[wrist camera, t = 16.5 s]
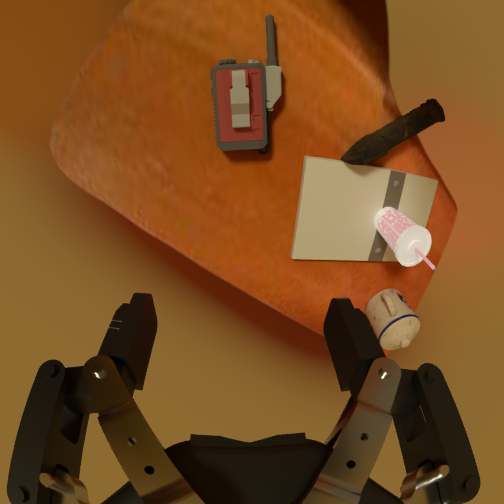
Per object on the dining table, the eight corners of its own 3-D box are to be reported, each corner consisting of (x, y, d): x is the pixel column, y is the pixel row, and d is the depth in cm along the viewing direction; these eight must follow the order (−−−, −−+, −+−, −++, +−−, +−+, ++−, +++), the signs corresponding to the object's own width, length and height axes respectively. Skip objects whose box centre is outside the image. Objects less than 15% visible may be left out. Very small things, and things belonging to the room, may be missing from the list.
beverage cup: (386, 242, 42) (429, 294, 30) (363, 225, 40) (406, 278, 28) (407, 214, 39) (458, 259, 27) (385, 194, 37) (438, 238, 25)
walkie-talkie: (282, 152, 36) (276, 18, 25) (287, 158, 32) (281, 8, 21) (217, 156, 35) (209, 20, 25) (215, 162, 32) (205, 10, 21)
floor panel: (304, 155, 36) (307, 157, 34) (434, 178, 37) (439, 181, 36) (290, 254, 44) (292, 259, 42) (410, 258, 45) (413, 262, 44)
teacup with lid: (404, 306, 52) (427, 344, 42) (368, 325, 54) (387, 366, 44) (395, 268, 47) (425, 309, 37) (355, 291, 49) (378, 335, 39)
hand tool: (426, 96, 30) (443, 98, 26) (434, 119, 32) (451, 123, 28) (331, 142, 35) (343, 147, 31) (343, 165, 37) (355, 174, 33)
